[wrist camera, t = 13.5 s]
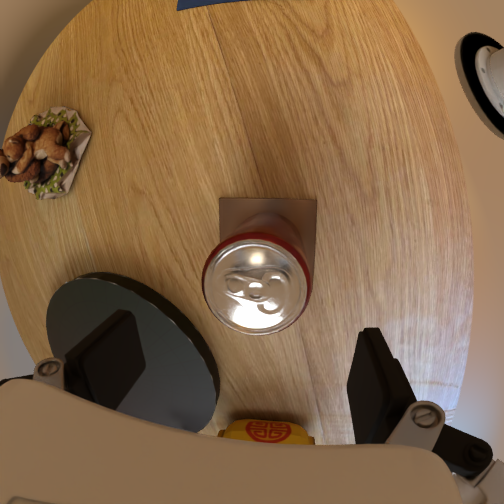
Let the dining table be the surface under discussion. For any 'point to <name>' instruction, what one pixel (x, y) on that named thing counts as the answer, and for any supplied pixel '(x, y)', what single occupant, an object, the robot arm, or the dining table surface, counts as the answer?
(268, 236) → the soda can
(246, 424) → the lantern
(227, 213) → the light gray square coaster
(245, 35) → the dining table surface
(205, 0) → the place mat
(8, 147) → the bear figurine
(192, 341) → the disc
